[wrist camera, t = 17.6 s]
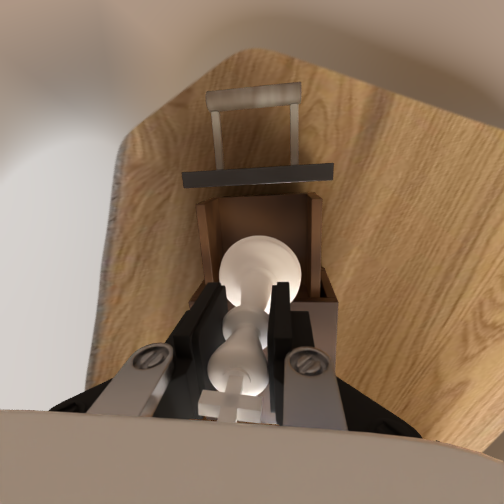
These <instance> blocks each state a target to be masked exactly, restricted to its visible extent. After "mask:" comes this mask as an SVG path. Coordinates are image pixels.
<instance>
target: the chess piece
mask: <svg viewBox="0 0 504 504" xmlns="http://www.w3.org/2000/svg"><path fill="white" fill-rule="evenodd" d="M219 281H220V283H221V285H225V287H226V296H227V299H228V300H229V301H230V302H231V303H232V304H233V305H234V306H236V307H234V308H232V309H231V310H230V311H228V313H227V314H226V315H225V317H224V319H223V322H222V325H223V328H222V331H223V336H224V338H225V340H226V342H225V343H223V344H222V345H221V346H219V347H218V349H217V350H216V351H215V352H214V353H213V354H212V356H211V357H210V359H209V362H208V366H207V372H208V377H209V379H210V381H211V383H212V385H213V386H214V387H215V388H216V389H217V390H218V391H219V392H218V391H210V390H203V391H202V393H201V396H200V399H199V402H198V414H199V415H201V416H208V417H216V418H218V420H217V422H232V423H237V420H238V421H245V422H252V423H260V424H261V413H262V398H263V397H257V396H256V395H258V394H260V393H261V392H262V391H263V390H264V389H265V388H266V386H267V384H268V382H269V372H268V362H267V359H266V356H265V354H264V352H263V349H264V348H266V347H267V331H268V321H269V315H268V314H269V312H270V302H271V292H272V285H277V282H289V285H290V303H291V302H292V301H293V299H294V298H295V296H296V295H297V293H298V290H299V287H300V282H301V268H300V264H299V261H298V259H297V257H296V255H295V254H294V252H293V251H292V250H291V249H290V248H289V247H288V246H287V245H286V244H284V243H283V242H281V241H279V240H277V239H275V238H272V237H268V236H250V237H246V238H244V239H241V240H239V241H237V242H236V243H235V244H233V245H232V246H231V247H230V248H229V249H228V250H227V252H226V253H225V255H224V257H223V259H222V262H221V266H220V270H219Z"/></svg>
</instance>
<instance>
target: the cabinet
mask: <svg viewBox="0 0 504 504" xmlns="http://www.w3.org/2000/svg"><path fill="white" fill-rule="evenodd" d="M205 286H206V285H205V279H204V281H203V282H202V283H201V285H200V286H199V288H198V289H197V290H196V292H195V293H194V295H193V296H192V298H191V299H190V300H189V307H190V309H191V307H192V306H193V304H194V303H195V301H196V300H197V298H198V297H199V295H200V294H201V292H202V290H203V289H204V287H205ZM227 306H228V311H230V310H231V309H232V308H234V307H236V306H234V305H233V304H232V303H231V302H230V301H229V300H228V299H227ZM290 308H291V311H309V315H310V321H311V327H312V333H313V339H314V345H315V348H318V349H321V350H322V351H324V352H326V353H327V354H328V355H329V356H330V357H331V359H332V362H333V365H334V369H335V363H336V342H337V321H338V300H337V298H336V296H335V293H334V291H333V288H332V286H331V283H330V281H329V278H328V276H327V273H326V271H325V268H321V278H320V298H294V299H293V301H292V302H291V303H290ZM268 315H269V314H268ZM263 352H264V354H265V356H266V359H267V362H268V353H267V347H266V348H264V349H263ZM216 391H218V390H217V389H216ZM218 392H219V391H218ZM256 396H257V397H263V398H262V413H261V423H269V424H277V422H276V415H275V413H271V410H270V391H269V382H268V384H267V386H266V388H265V389H264V390H263V391H262V392H261V393H260V394H258V395H256ZM206 419H209V420H218V418H216V417H208V416H206ZM237 421H238V420H237ZM239 422H245V421H239Z"/></svg>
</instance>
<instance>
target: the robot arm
mask: <svg viewBox="0 0 504 504" xmlns="http://www.w3.org/2000/svg"><path fill="white" fill-rule="evenodd" d="M227 313H228V306H227V296H226V287H225V285H221V283H220V282H208V283H207V284H206V286H205V287H204V289H203V290H202V292H201V294H200V295H199V297H198V298H197V300H196V301H195V303H194V304H193V306H192V307H191V309H190V310H187V311H186V312H185V314H184V315H183V317H182V318H181V320H180V321H179V323H178V324H177V326H176V327H175V329H174V330H173V332H172V333H171V334H170V336H169V337H168V339H167V340H166V342H165V343H153V344H149V345H146V346H144V347H142V348H140V349H138V350H137V351H135V352H134V353H133V354H132V355H131V356H130V358H129V359H128V360H127V361H126V363H125V364H124V365H123V366H122V368H121V369H120V370H119V372H118V373H117V374H116V375H115V377H114V378H112V379H110V380H108V381H106V382H104V383H102V384H99V385H97V386H95V387H93V388H91V389H89V390H87V391H85V392H83V393H80V394H78V395H76V396H74V397H72V398H70V399H68V400H65V401H63V402H62V403H60V404H58V405H56V406H55V407H53V408H51V409H50V410H49V411H35V410H0V504H504V461H502V460H499V459H496V458H493V457H491V456H488V455H486V454H483V453H480V452H477V451H473V450H470V449H466V448H462V447H459V446H455V445H451V444H448V443H442V442H439V441H437V440H436V441H432V440H427V439H423V438H422V437H421V435H420V434H419V433H418V432H417V431H416V430H415V429H414V428H413V427H411V426H410V425H409V424H408V423H406V422H405V421H403V420H402V419H400V418H399V417H397V416H396V415H394V414H393V413H391V412H390V411H388V410H387V409H385V408H384V407H382V406H381V405H379V404H378V403H376V402H374V401H373V400H371V399H370V398H368V397H367V396H365V395H364V394H362V393H361V392H359V391H358V390H356V389H355V388H353V387H352V386H350V385H349V384H347V383H346V382H344V381H343V380H341V379H340V378H338V377H336V374H335V369H334V365H333V362H332V359H331V357H330V356H329V355H328V354H327V353H326V352H324V351H322V350H321V349H318V348H315V345H314V339H313V333H312V327H311V321H310V315H309V311H291V308H290V285H289V282H277V285H272V292H271V302H270V312H269V321H268V331H267V353H268V372H269V391H270V410H271V413H275V415H276V422H277V424H279V425H280V426H274V425H260V424H246V423H232V422H217V421H202V419H203V416H201V415H199V414H198V402H199V399H200V396H201V393H202V391H203V390H210V391H216V388H215V387H214V386H213V385H212V383H211V381H210V379H209V377H208V372H207V366H208V362H209V359H210V357H211V356H212V354H213V353H214V352H215V351H216V350H217V349H218V347H219V346H221V345H222V344H223V343H225V342H226V340H225V338H224V336H223V331H222V328H223V325H222V322H223V319H224V317H225V315H226V314H227ZM189 419H201V420H189Z"/></svg>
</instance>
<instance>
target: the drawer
mask: <svg viewBox="0 0 504 504" xmlns="http://www.w3.org/2000/svg"><path fill="white" fill-rule="evenodd" d="M206 104H207V108H208V111H209V112H211V118H212V128H213V139H214V149H215V159H216V169H217V170H212V171H196V172H182V179H183V186H184V188H199V187H217V186H236V185H254V184H272V183H291V182H309V181H327V180H333V168H334V163H323V164H307V165H299V142H298V104H301V82H293V83H284V84H274V85H264V86H255V87H245V88H236V89H226V90H216V91H207V92H206ZM285 105H290V151H291V166H276V167H260V168H244V169H228V170H225V165H224V153H223V142H222V130H221V119H220V112H221V111H232V110H243V109H253V108H264V107H275V106H285ZM196 213H197V221H198V229H199V237H200V245H201V253H202V261H203V269H204V277H205V285H206V284H207V283H208V282H220V281H219V270H220V266H221V262H222V259H223V257H224V255H225V253H226V252H227V250H228V249H229V248H230V247H231V246H232V245H233V244H235V243H236V242H237V241H239V240H241V239H244V238H246V237H250V236H268V237H272V238H275V239H277V240H279V241H281V242H283V243H284V244H286V245H287V246H288V247H289V248H290V249H291V250H292V251H293V252H294V254H295V255H296V257H297V259H298V261H299V264H300V268H301V282H300V287H299V290H298V293H297V295H296V296H295V298H320V278H321V236H322V198H321V197H319V196H318V195H317V194H316V193H315V192H310V193H290V194H270V195H249V196H229V197H212V198H210V199H208V200H205V201H203V202H200V203H198V204H196Z"/></svg>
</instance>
